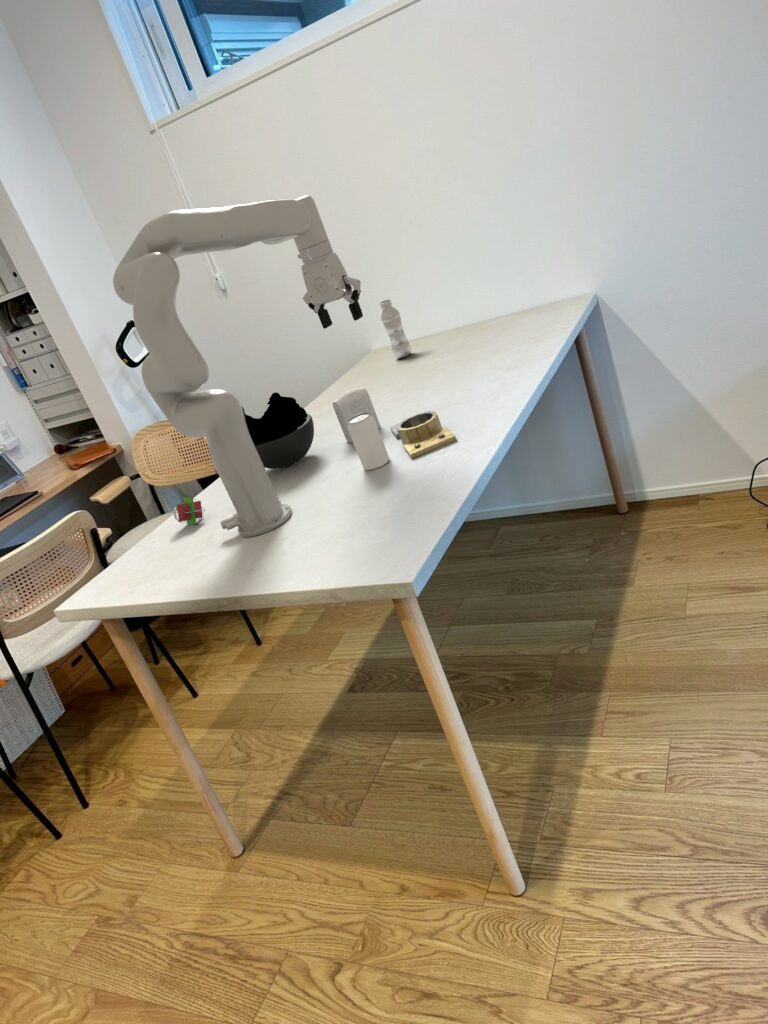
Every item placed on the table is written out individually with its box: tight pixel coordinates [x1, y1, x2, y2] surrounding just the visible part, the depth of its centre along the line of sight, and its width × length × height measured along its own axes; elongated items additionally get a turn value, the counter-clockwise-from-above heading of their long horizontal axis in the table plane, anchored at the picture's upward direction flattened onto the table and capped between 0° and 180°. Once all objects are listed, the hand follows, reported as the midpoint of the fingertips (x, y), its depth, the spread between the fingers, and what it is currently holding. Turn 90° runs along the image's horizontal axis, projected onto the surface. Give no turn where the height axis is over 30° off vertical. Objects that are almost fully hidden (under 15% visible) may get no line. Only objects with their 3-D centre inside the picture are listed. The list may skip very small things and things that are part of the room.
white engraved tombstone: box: [332, 386, 381, 443], centre depth 205 cm, size 10×4×12 cm, turn 123°
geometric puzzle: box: [172, 497, 206, 526], centre depth 191 cm, size 7×7×8 cm
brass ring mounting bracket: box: [389, 410, 458, 460], centre depth 189 cm, size 11×26×4 cm, turn 11°
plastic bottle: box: [379, 299, 413, 359], centre depth 268 cm, size 6×7×20 cm
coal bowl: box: [242, 392, 315, 470], centre depth 203 cm, size 20×20×19 cm
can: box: [347, 412, 390, 471], centre depth 180 cm, size 6×6×12 cm
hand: (343, 322), depth 189 cm, fingers open, 9 cm apart
